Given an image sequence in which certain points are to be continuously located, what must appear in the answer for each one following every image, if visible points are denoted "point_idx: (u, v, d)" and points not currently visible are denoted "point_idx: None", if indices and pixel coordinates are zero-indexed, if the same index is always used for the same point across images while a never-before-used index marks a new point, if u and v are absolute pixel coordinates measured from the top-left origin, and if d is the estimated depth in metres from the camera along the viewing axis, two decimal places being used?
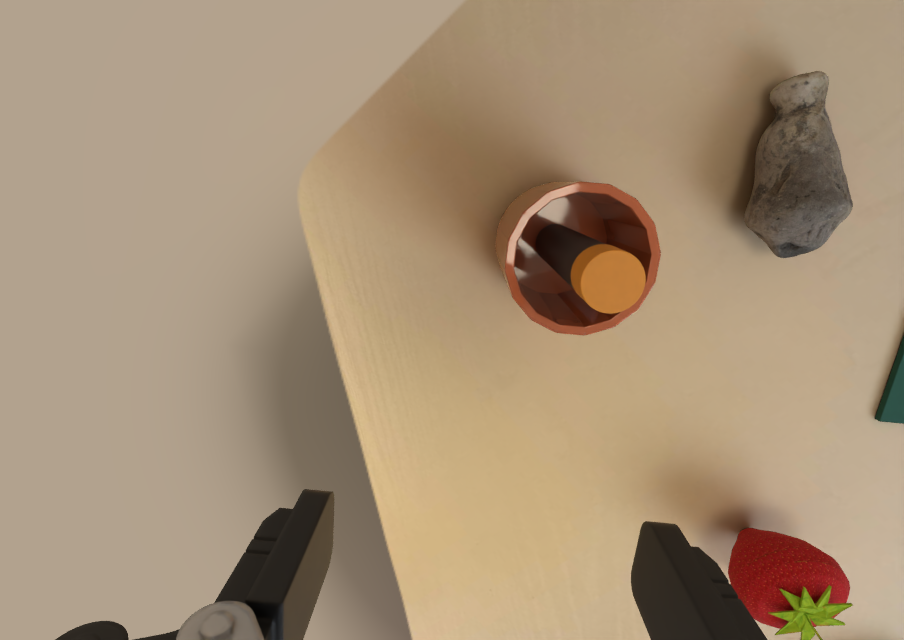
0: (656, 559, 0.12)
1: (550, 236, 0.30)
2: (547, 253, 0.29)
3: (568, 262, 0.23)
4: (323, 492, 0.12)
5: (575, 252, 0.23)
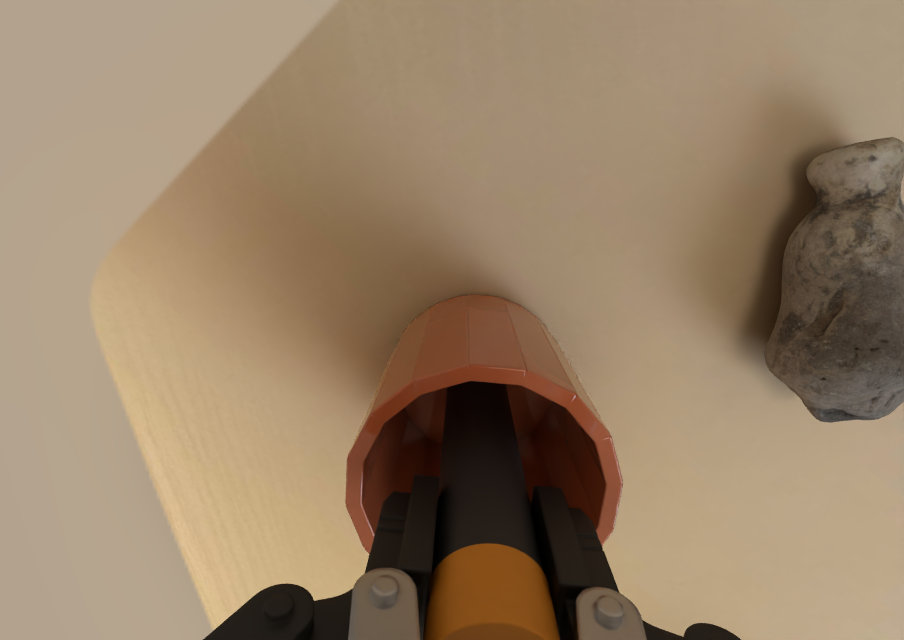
0: (537, 518, 0.13)
1: (452, 403, 0.18)
2: None
3: (434, 545, 0.12)
4: (432, 477, 0.13)
5: (444, 530, 0.12)
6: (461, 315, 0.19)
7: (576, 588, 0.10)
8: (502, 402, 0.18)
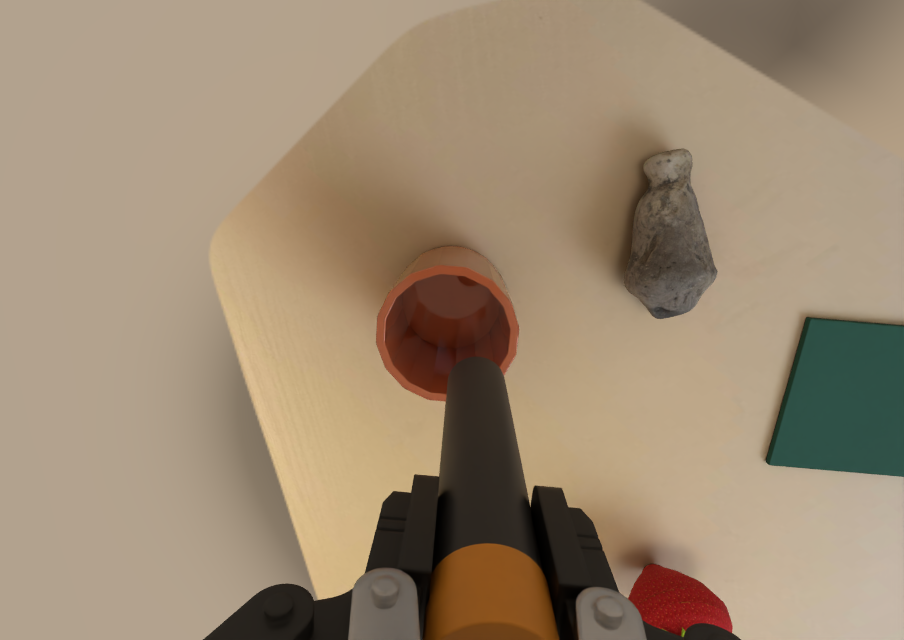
0: (538, 518, 0.13)
1: (452, 403, 0.18)
2: (442, 440, 0.18)
3: (434, 545, 0.12)
4: (432, 477, 0.13)
5: (444, 530, 0.12)
6: (439, 252, 0.32)
7: (576, 588, 0.10)
8: (502, 402, 0.18)
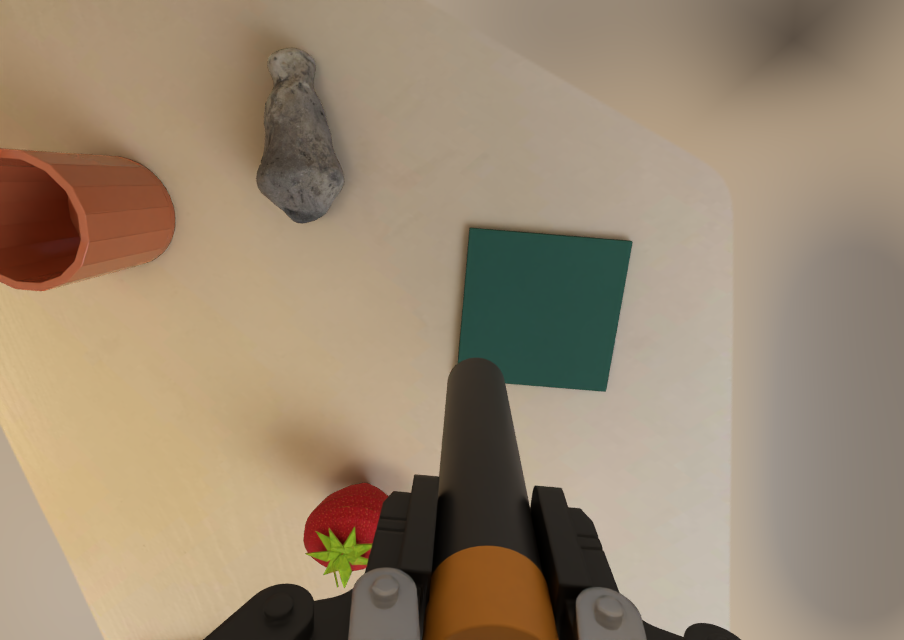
0: (538, 518, 0.13)
1: (452, 404, 0.18)
2: None
3: None
4: (432, 477, 0.13)
5: (444, 532, 0.12)
6: None
7: (576, 588, 0.10)
8: (502, 403, 0.18)
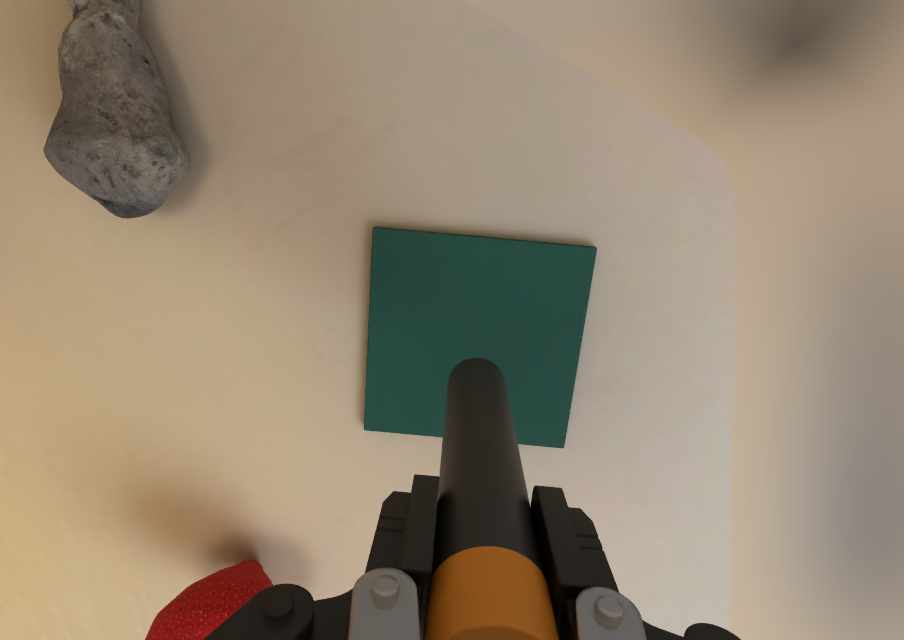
0: (538, 518, 0.13)
1: (452, 404, 0.18)
2: None
3: (434, 548, 0.12)
4: (432, 477, 0.13)
5: (444, 533, 0.12)
6: None
7: (576, 588, 0.10)
8: (502, 404, 0.18)
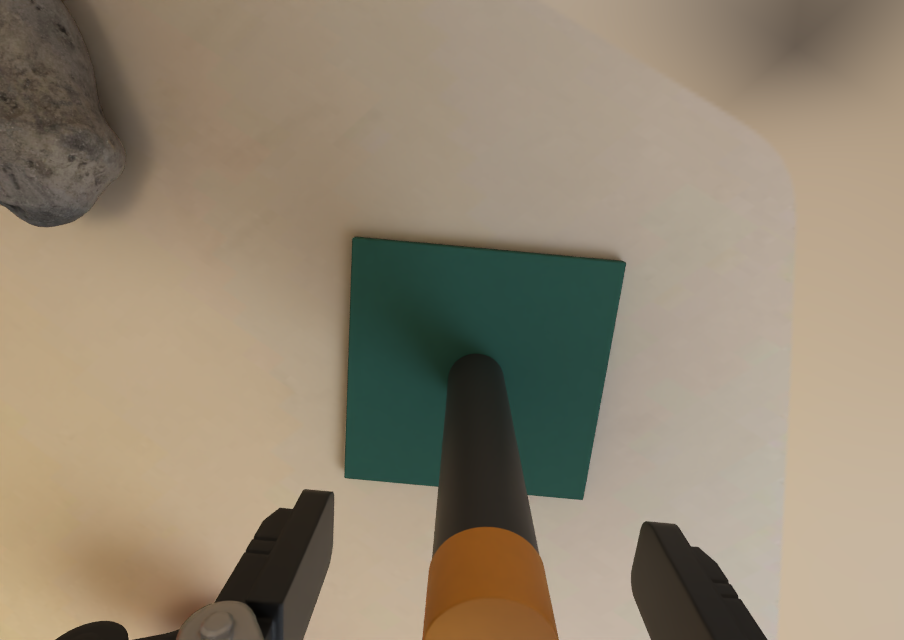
0: (656, 559, 0.12)
1: (452, 398, 0.19)
2: None
3: (435, 530, 0.13)
4: (323, 492, 0.12)
5: (445, 516, 0.12)
6: None
7: None
8: (501, 397, 0.19)
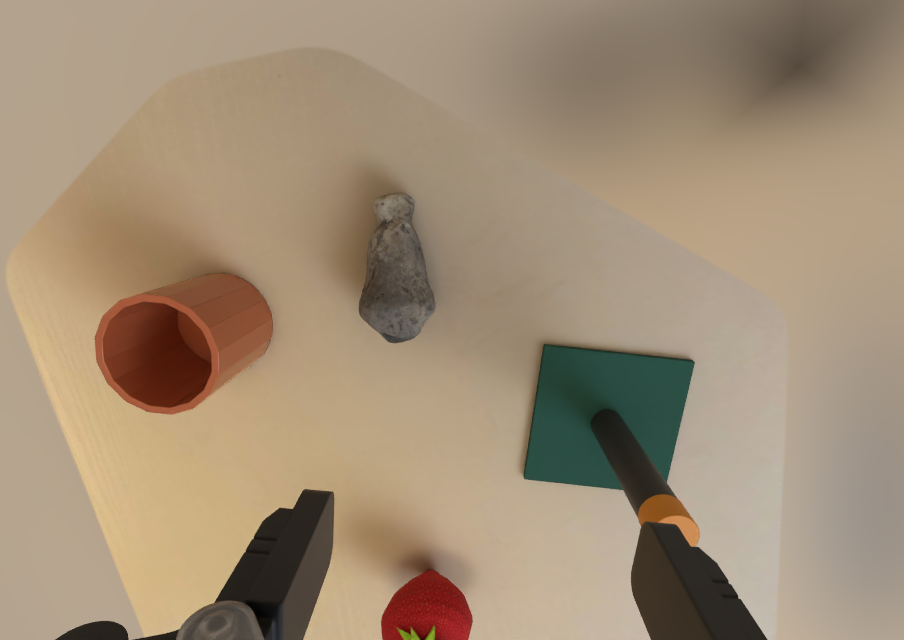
0: (656, 559, 0.12)
1: (608, 436, 0.37)
2: (607, 455, 0.36)
3: (634, 497, 0.30)
4: (323, 492, 0.12)
5: (640, 491, 0.30)
6: (186, 280, 0.36)
7: None
8: (634, 436, 0.36)
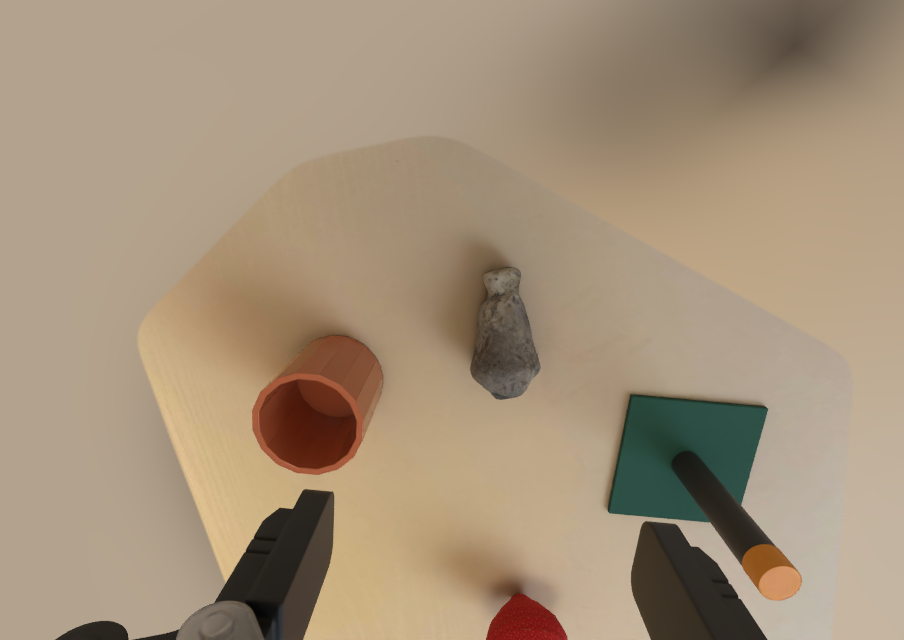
0: (656, 559, 0.12)
1: (696, 480, 0.41)
2: (697, 498, 0.40)
3: (735, 544, 0.34)
4: (323, 492, 0.12)
5: (741, 539, 0.34)
6: (315, 348, 0.40)
7: None
8: (719, 481, 0.41)
